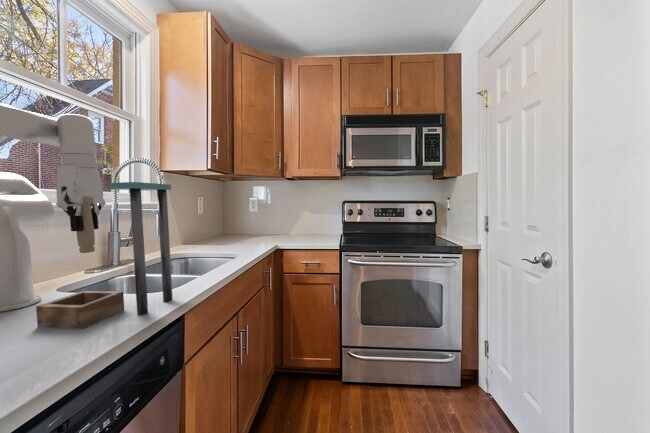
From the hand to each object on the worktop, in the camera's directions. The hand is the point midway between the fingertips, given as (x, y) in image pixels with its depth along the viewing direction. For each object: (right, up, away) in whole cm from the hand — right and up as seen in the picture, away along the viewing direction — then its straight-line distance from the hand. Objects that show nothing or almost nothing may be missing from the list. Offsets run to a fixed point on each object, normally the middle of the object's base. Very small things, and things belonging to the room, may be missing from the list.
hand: (85, 229), depth 83 cm
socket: (+5, -22, -7) cm, 24 cm away
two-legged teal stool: (+17, -21, 0) cm, 27 cm away
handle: (0, -6, 0) cm, 6 cm away
